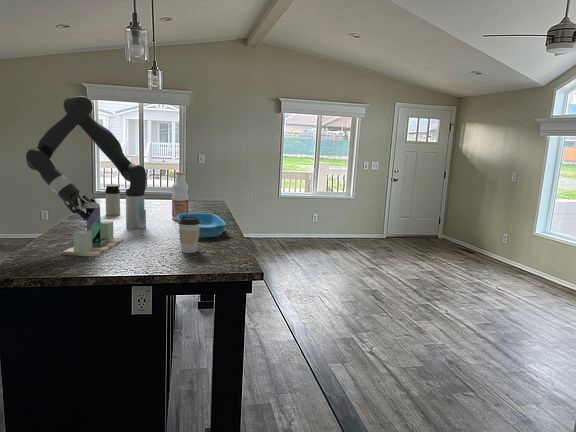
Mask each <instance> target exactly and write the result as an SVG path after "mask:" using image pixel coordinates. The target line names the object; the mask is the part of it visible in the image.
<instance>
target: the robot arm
mask: <svg viewBox="0 0 576 432" xmlns="http://www.w3.org/2000/svg"><path fill="white" fill-rule="evenodd" d="M62 106H63V110H64V111H65V113H66V115H65V116H63V117H62V118H60V120H59V121H57V122H56V123H54V124H53V125H52V126H51V127H50V128H49V129H48V130H46V132H45V133H44V134H43V135H42V137H41V138H40V139H39V141H38V143H37V146H36V148H29V150H28V151H27V152H26V154H25V159H26V164H27V167H28V168H29V169H31V170H33V171H37V172H38V174H40V177H41V178H42V180H43V181H44V182H45V183H46V184H47V185H48V186H49V187H50V188H51V190H52V191H53V192H54V193H55V194H56V195H57V196H58V197H59V198H60V199H61V200H62V201H63V203H64V205H65V206H66V207H67V208H68V209H69V211H70V212H72V213H73V214H74V215H75V214H76V215H78V216H79V217H81V218H82V219H83V220H84V221H87V219H88V218H89V216H88V215H87V214H86V211H84V210H83V209H85V210H86V204H88V203H89V202H90V199H89V198H88V197H87V196H86V195H85V194H84V195H82V196H81V195H80V190H79V188H78V187H77V186H76V185H75V184H74V183H72V181H71V180H70V179H69V178H67V177H66V176H65V175H64V174H63V173H62V172H61V171H60V170H59V169H58V167H56V166H55V165H54V163H53V162H52V161H51V158H52V157H53V154H54V153H55V151H57V149H58V148H59V146H61V144H62V143H63V142H64V140H65V139H66V138H67V136H68V135H70V133H72V131H73V130H74V129H75V128H76V127H78V126H79V127H80V128H81V129H83V131H84V132H85V133H86V135H87V136H88V137H89V138H90V139H91V140H92V141H93V142H94V144H95V145H96V147H98V148H99V150H100V151H101V152H102V153H103V154H104V155H105V156H106V157H107V159H109V161H111V163H112V164H113V165H114V167H116V169H117V171H118V172H119V174H120V175H121V176H122V177H123V179H124V180H125V181H127V182H129V187H128V188H127V189H125V227H126V229H130V230H140V229H143V228H144V229H146V228H147V216H146V215H147V211H146V209H145V192H146V190H147V172H146V169H145V167H144V166H142V165H139V164H133V163H132V162H131V161H130V160H129V159H128V158H127V156H126V155H125V154H124V151H123V148H122V146H121V143H120V141H119V140H118V139H117V137H116V136H115V135H114V134H113V132H111V130H109V129H108V128H106V127H105V126H104V125H102V124H101V123H99V122H98V121H96V120H95V119H94V118H93V117H92V116H91V113H92V111H93V102H92V101H91V100H90V98H88V97H87V96H83V95H77V96H70V97H67V98H65V99H64V101H63V105H62Z"/></svg>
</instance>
